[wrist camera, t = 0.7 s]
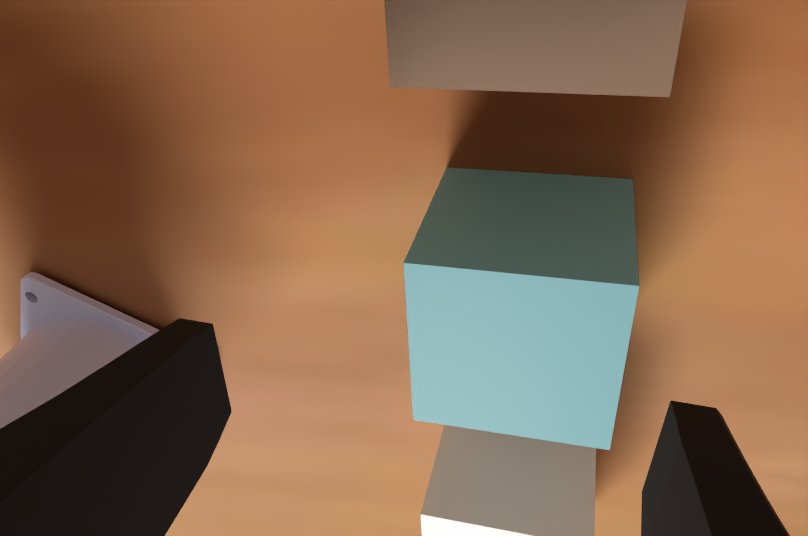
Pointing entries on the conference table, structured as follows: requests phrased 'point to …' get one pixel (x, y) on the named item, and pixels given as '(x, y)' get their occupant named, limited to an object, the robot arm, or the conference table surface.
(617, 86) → the walnut block
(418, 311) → the teal block
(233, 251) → the conference table surface
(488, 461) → the cream block
